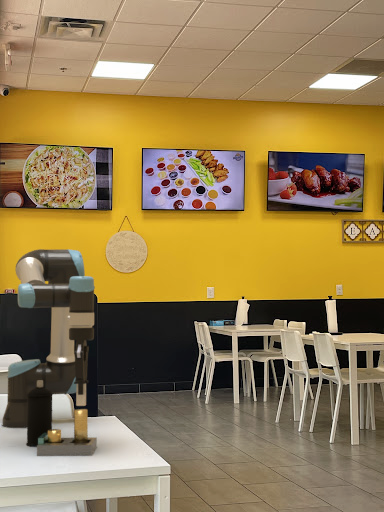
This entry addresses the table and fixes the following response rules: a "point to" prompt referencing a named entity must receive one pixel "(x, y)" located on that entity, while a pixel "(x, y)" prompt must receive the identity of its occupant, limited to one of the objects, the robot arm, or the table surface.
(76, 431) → the brass rod
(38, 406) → the aerosol can
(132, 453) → the table surface
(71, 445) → the jig
